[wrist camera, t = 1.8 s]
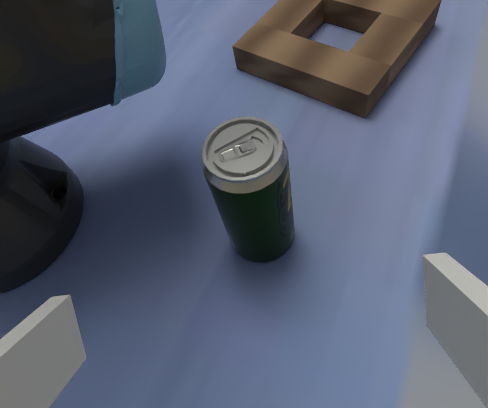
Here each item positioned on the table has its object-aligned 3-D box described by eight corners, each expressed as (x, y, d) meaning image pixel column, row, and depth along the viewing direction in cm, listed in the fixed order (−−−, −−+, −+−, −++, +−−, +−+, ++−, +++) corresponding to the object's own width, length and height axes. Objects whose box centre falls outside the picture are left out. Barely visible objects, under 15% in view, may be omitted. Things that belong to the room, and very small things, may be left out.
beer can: (245, 276, 32) (214, 197, 22) (223, 224, 35) (187, 133, 25) (305, 250, 33) (302, 161, 23) (279, 200, 36) (265, 102, 25)
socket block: (236, 68, 46) (232, 46, 43) (311, -8, 51) (311, -32, 49) (365, 118, 39) (368, 95, 36) (434, 24, 45) (441, -1, 42)
